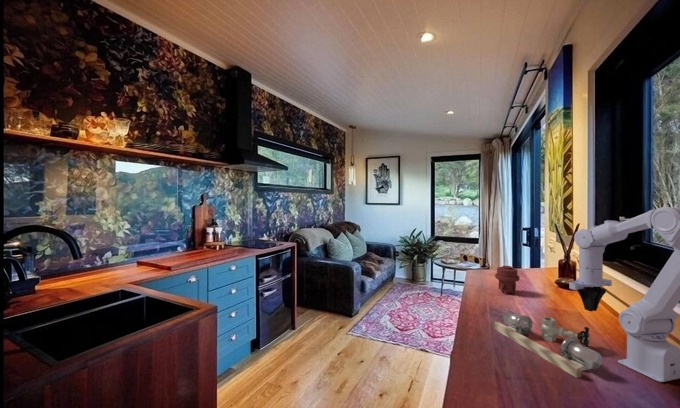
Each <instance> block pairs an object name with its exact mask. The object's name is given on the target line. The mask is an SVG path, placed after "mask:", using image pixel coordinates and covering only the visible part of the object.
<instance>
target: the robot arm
mask: <svg viewBox="0 0 680 408" xmlns="http://www.w3.org/2000/svg"><path fill="white" fill-rule="evenodd" d="M603 222H604V223H602V224H599V225H593V226H591V227H590V228H589V229H583V228H581V229H579V230H577V231H576V232H575V233H574V236H573V238H574V242H575V244H576V246H578V253H579V254H578V277H577V278H575V279H576V280H575V281H571V282H570V281H569V284H568V285H569V289H570V290H573V291H576V292H577V293H578V295H579V296H580V299H581V301H582V305H583V307H584V310H586V311H588V312H596V311H597V310H598V307H599V304H600V302H601V299H602V298H603V296H604V295H605V294H606V293H607V289H606V288H604V287H612V281H613V280H612V279H608V278H603V276H604V275H603V273H604V271H603V270H604V269H603V268H604V267H603V266H604V265H603V264H604V263H603V261H604V259H603V258H604V257H603V256H604V255H603V254H604V253H605V250H606V249H605V248H606V247H607V245H609V244H612V243H616V242H620V241H623V240H626V239H627V238H628V235H629V234H631V233H636V232H639V231H644V230H648V229H654V230H655V231H656V232H657V233H658V234H659V235H660V237H662V239H663V240H664V241H665V242H666V243H668V245H669V246H670V247H672V248H673V252H672V254H671V255H670V257H669V258H668V260H667V261H666V263H665V264H664V266H663V267H662V269H661V270H660V272H659V273H658V274H657V276H656V278H655V279H654V281H653V282H652V284H651V285H650V287H649V288H648V290H647V291H646V293H645V295H644V296H643V297H642V299H640V300H638V301H635V302H634V303H631V304H630V305H629V306H628V308H627V309H623V310H622V311H621V312H620V313H619V315H618V321H619V324H620V326H621V328H622V329H623V330H624V333H626V358H623V359H618V360H617V363H619V364H621V365H623V366H625V367H627V368H629V369H632V370H633V371H635V372H637V373H640V374H642V375H644V376H645V377H648V378H650V379H652V380H654V381H656V382H659V383H664V382H670V381H674V380H679V379H680V348H679V347H678V346H677V345H674V344H672V343H671V342H669V341H668V338H669V334H671V333H673V332H674V331H675V328H676V320H677V319H678V317H679V315H678V314H677V312H676V311H674V308H675V307H676V306H677V305H678V303H679V302H680V206H677V207H675V206H674V207H671V206H664V207H659V208H657V209H651V210H648V211H646V212H644V213H642V214H639V215H637V216H634V217H631V218H629V219H627V220H624V221H621V222H620V221H618V220H612V219H611V220H610V219H607V220H604V221H603ZM675 309H676V308H675Z"/></svg>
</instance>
